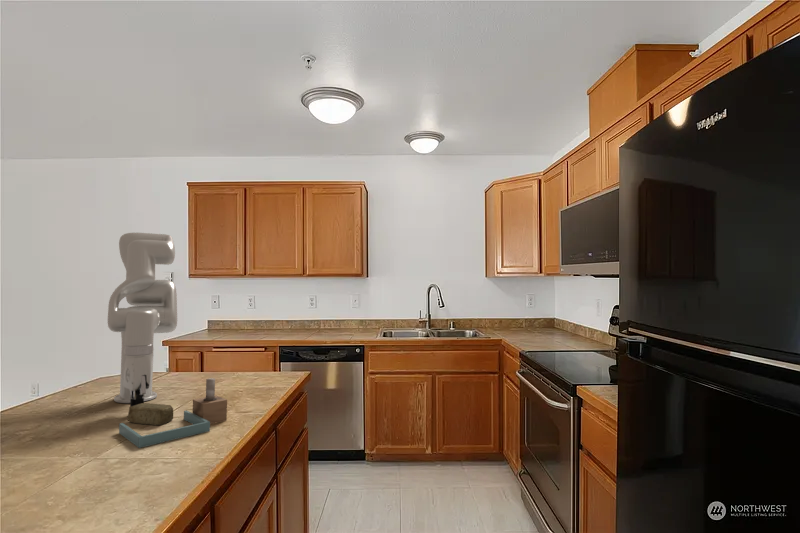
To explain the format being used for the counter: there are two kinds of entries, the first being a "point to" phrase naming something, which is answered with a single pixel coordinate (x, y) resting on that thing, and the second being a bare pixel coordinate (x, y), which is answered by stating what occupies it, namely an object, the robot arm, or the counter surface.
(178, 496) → the counter surface
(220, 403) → the block with knob
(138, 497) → the counter surface
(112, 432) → the counter surface
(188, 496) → the counter surface
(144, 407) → the stone block
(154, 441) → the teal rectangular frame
